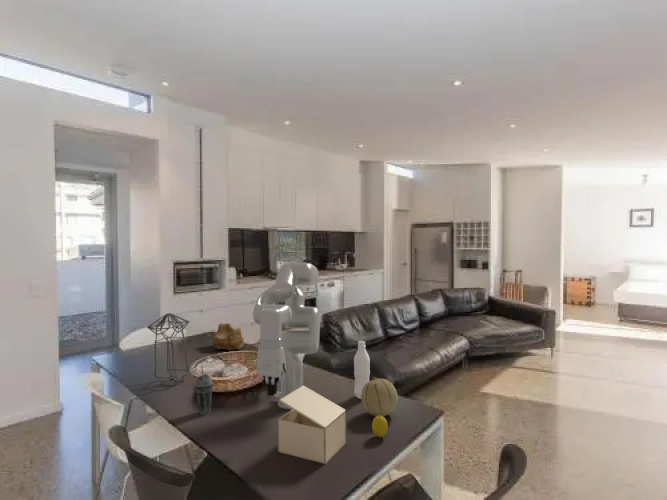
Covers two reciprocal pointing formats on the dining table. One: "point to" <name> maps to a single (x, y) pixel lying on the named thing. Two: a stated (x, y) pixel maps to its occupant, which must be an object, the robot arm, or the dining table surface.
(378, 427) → the lemon
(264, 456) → the dining table surface
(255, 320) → the robot arm
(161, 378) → the geometric lantern
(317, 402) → the carton lid
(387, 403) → the cantaloupe
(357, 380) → the water bottle
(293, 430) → the carton
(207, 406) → the beverage cup
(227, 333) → the rough brown rock
